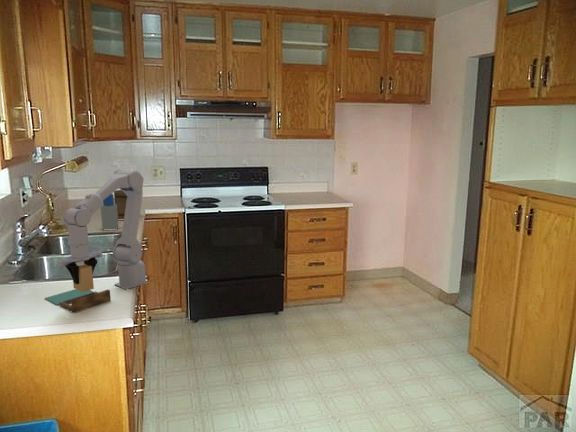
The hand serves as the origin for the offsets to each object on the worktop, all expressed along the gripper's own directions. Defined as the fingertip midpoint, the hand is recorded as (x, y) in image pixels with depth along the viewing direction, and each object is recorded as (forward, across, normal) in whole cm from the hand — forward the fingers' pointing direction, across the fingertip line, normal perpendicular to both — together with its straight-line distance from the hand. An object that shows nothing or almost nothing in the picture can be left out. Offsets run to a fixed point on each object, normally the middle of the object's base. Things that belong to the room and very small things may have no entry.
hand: (83, 281), depth 155 cm
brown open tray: (+8, 0, 0) cm, 8 cm away
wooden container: (+8, +91, +116) cm, 148 cm away
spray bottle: (+8, +67, +96) cm, 117 cm away
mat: (+8, 0, +10) cm, 13 cm away
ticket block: (+2, 0, 0) cm, 2 cm away
